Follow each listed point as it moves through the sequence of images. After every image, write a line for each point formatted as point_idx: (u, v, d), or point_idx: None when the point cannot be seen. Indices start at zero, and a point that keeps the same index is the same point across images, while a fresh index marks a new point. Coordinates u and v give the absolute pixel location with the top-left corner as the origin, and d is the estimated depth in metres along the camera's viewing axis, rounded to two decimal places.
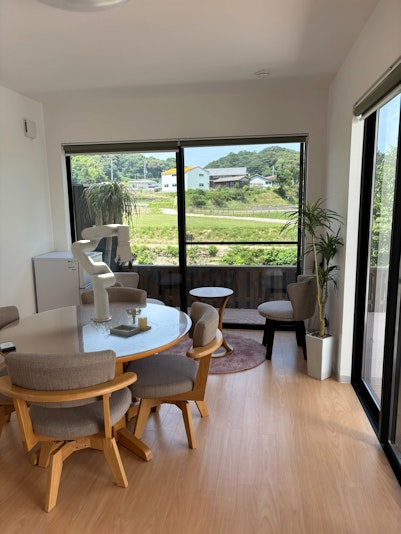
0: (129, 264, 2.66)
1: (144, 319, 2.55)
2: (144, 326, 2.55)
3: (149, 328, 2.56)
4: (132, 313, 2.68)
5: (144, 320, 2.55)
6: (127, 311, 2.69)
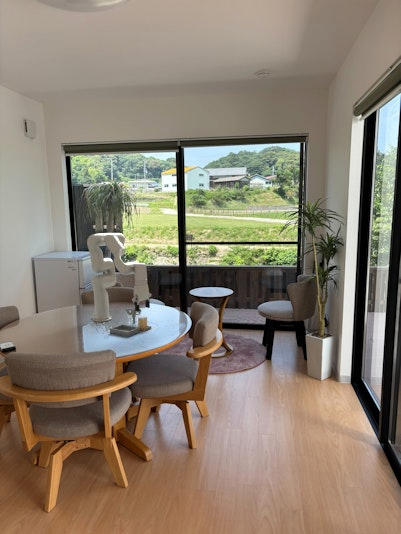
0: (146, 302, 2.58)
1: (144, 319, 2.55)
2: (144, 326, 2.55)
3: (149, 328, 2.56)
4: (132, 313, 2.68)
5: (144, 320, 2.55)
6: (127, 311, 2.69)
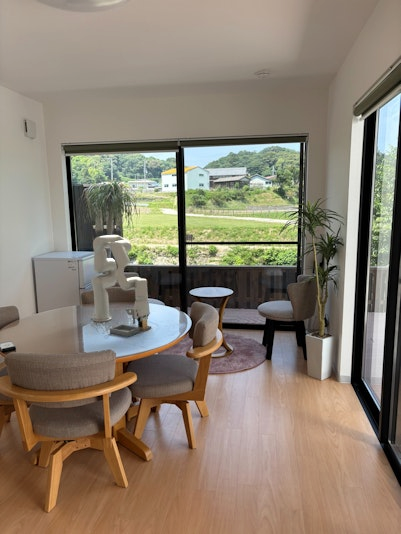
0: None
1: (144, 319, 2.54)
2: (144, 326, 2.55)
3: (149, 328, 2.56)
4: (132, 313, 2.68)
5: (144, 320, 2.54)
6: (127, 311, 2.69)
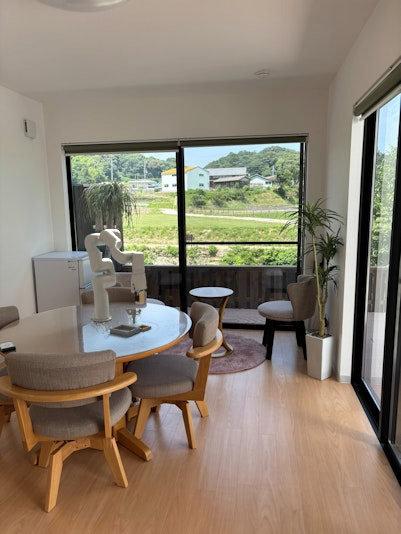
0: None
1: (141, 293, 2.51)
2: (141, 300, 2.52)
3: (149, 328, 2.56)
4: (132, 313, 2.68)
5: (141, 294, 2.51)
6: (127, 311, 2.69)
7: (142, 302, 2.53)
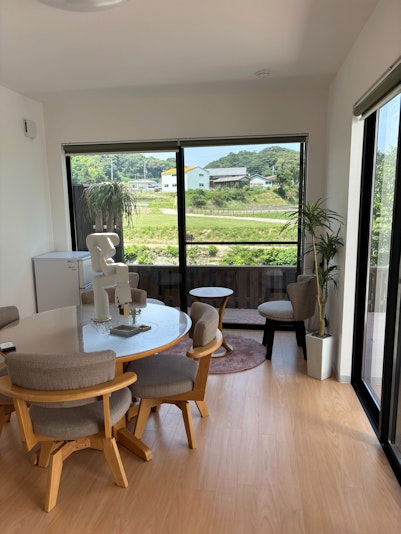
0: None
1: (126, 306, 2.46)
2: (126, 313, 2.47)
3: (149, 328, 2.56)
4: (132, 313, 2.68)
5: (126, 307, 2.46)
6: None
7: (127, 315, 2.48)
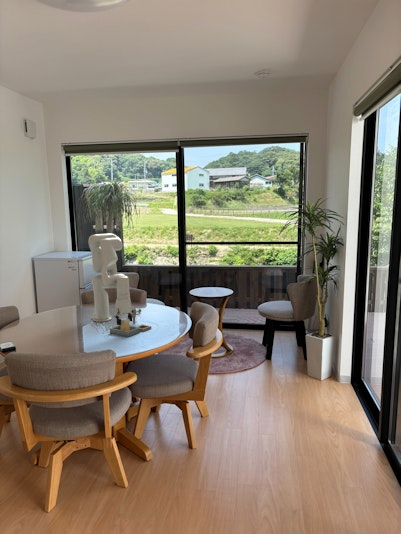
0: (129, 316, 2.53)
1: (126, 321, 2.48)
2: (126, 328, 2.48)
3: (149, 328, 2.56)
4: None
5: (126, 322, 2.48)
6: None
7: (127, 330, 2.49)
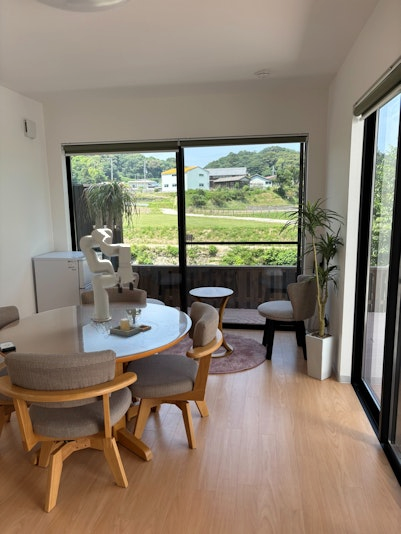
0: (130, 285, 2.58)
1: (126, 321, 2.48)
2: (126, 328, 2.48)
3: (149, 328, 2.56)
4: (132, 313, 2.68)
5: (126, 322, 2.48)
6: (127, 311, 2.69)
7: (127, 330, 2.49)
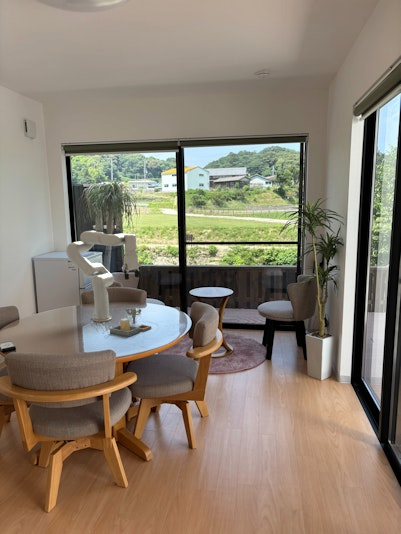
0: (136, 272, 2.72)
1: (126, 321, 2.48)
2: (126, 328, 2.48)
3: (149, 328, 2.56)
4: (132, 313, 2.68)
5: (126, 322, 2.48)
6: (127, 311, 2.69)
7: (127, 330, 2.49)
